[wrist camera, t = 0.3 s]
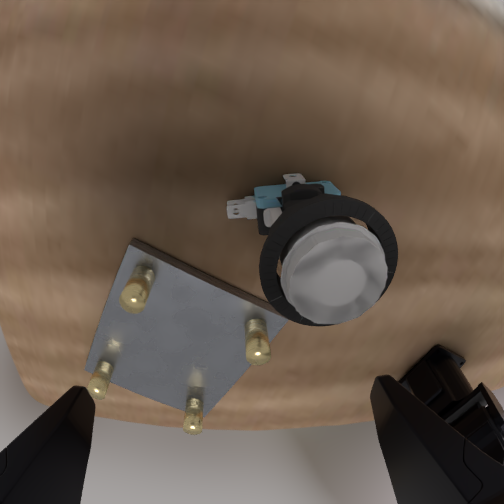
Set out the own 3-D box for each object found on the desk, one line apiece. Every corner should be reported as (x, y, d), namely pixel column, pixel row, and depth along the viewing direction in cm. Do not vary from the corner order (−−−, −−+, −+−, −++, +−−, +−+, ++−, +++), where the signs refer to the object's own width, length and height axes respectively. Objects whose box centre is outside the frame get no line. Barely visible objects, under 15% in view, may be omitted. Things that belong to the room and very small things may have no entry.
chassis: (286, 311, 23) (295, 348, 20) (204, 409, 29) (202, 443, 25) (133, 237, 20) (114, 267, 17) (87, 362, 25) (74, 394, 22)
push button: (232, 242, 21) (232, 354, 12) (222, 160, 18) (210, 222, 9) (334, 232, 21) (397, 330, 12) (333, 151, 18) (417, 204, 9)
